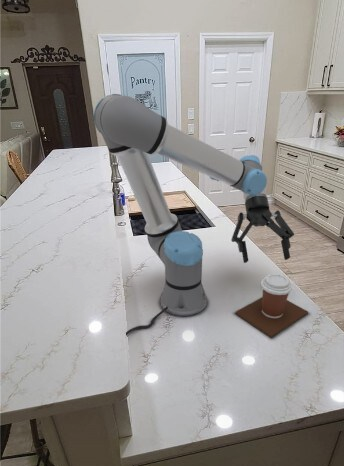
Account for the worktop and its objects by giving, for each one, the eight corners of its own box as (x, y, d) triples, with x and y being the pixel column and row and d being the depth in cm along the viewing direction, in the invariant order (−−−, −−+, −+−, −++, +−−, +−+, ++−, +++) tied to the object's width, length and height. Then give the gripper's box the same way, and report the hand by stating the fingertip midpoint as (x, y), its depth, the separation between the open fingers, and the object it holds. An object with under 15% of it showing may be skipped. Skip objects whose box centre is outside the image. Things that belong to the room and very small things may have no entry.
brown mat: (271, 338, 94) (271, 336, 93) (235, 313, 104) (235, 311, 103) (307, 313, 103) (308, 311, 103) (271, 293, 113) (272, 291, 113)
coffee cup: (293, 317, 101) (300, 284, 95) (268, 323, 98) (273, 290, 92) (276, 300, 108) (281, 269, 102) (251, 306, 106) (255, 274, 100)
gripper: (286, 202, 115) (299, 260, 109) (217, 206, 113) (225, 266, 106) (296, 192, 108) (309, 253, 102) (221, 196, 105) (231, 259, 99)
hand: (266, 260), depth 104 cm, fingers open, 13 cm apart
